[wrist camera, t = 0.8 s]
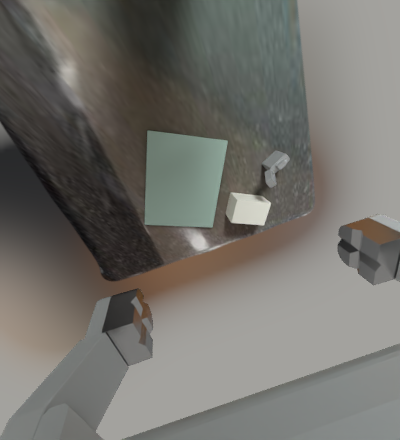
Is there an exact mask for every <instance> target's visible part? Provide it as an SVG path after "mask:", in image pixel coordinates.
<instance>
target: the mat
mask: <svg viewBox="0 0 400 440" xmlns="http://www.w3.org/2000/svg"><path fill="white" fill-rule="evenodd" d="M227 143H228V141H227V140H219V139H212V138H204V137H196V136H188V135H181V134H173V133H165V132H158V131H150V130H148V131H147V162H146V193H145V224H144V225H163V226H188V227H213V222H214V216H215V210H216V205H217V199H218V194H219V188H220V182H221V177H222V171H223V166H224V160H225V154H226V149H227Z"/></svg>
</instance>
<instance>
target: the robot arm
mask: <svg viewBox="0 0 400 440" xmlns="http://www.w3.org/2000/svg"><path fill="white" fill-rule="evenodd" d="M338 235H339V237H340V238H341V240H340V242H339V243H338V254H339V256H340V258H341V259H342V261H343V262H344V263H345V264H347V265H348V266H349V267H353V268H356V269H357V270H358V274H359V275H361V276H362V277H363V278H364V279H366V280H367V281H368V282H370V283H371V284H372V285H376V284H380V283H383V282H386V281H390V280H393V279H396V280H397V281H399V282H400V222H398V221H396V220H393V219H391V218H388V217H386V216H384V215H380V214H376V215H373V216H370V217H367V218H365V219H362V220H359V221H356V222H353V223H349V224H346V225H343V226H341V227H340V229H339V233H338ZM143 299H144V295H143V294H142V292H141V290H140V289H135V290H131V291H127V292H124V293H120V294H117V295H113V296H110V297H107V298H103V299H100V300H99V301H98V302H97V303H96V306H95V309H94V312H93V315H92V318H91V321H90V324H89V327H88V330H87V333H86V336H85V339H83V340H80V341H79V342H78V343H77V344H76V346H75V347H74V348H73V349H72V350H71V351H70V352H69V353H68V354H67V356H66V357H65V358H64V359H63V360H62V361H61V362H60V363H59V364H58V366H57V367H56V368H55V369H54V370H53V371H52V372H51V373H50V375H49V376H48V377H47V378H46V379H45V380H44V381H43V382H42V383H41V385H40V386H39V387H38V388H37V389H36V390H35V391H34V392H33V393H32V395H31V396H30V397H29V398H28V399H27V400H26V401H25V402H24V404H23V405H22V406H21V407H20V408H19V409H18V410H17V411H16V413H15V414H14V415H13V416H12V417H11V418H10V419H9V421H8V423H7V425H6V427H5V429H4V431H3V433H2V435H1V437H0V440H103V439H102V438H101V437H100V436H99V435H98V434H97V433H96V432H95V431H96V429H97V427H98V425H99V424H100V422H101V420H102V418H103V416H104V414H105V412H106V410H107V408H108V406H109V404H110V402H111V400H112V399H113V397H114V395H115V393H116V391H117V389H118V387H119V385H120V383H121V381H122V379H123V377H124V376H125V374H126V372H127V370H128V366H130V365H133V364H136V363H139V362H141V361H144V360H147V359H150V358H152V344H153V343H152V342H153V340H152V338H151V336H150V333H151V331H152V330H153V320H152V314H151V311H150V308H149V306H148V304H147V303H145V302H143ZM122 440H400V344H397V345H394V346H391V347H388V348H385V349H383V350H380V351H377V352H374V353H371V354H368V355H365V356H362V357H359V358H357V359H354V360H351V361H348V362H345V363H342V364H339V365H336V366H333V367H330V368H328V369H325V370H322V371H319V372H316V373H313V374H310V375H307V376H304V377H301V378H299V379H296V380H293V381H290V382H287V383H284V384H281V385H278V386H275V387H273V388H270V389H267V390H264V391H261V392H258V393H255V394H252V395H249V396H247V397H244V398H241V399H238V400H235V401H232V402H230V403H227V404H224V405H221V406H218V407H215V408H212V409H209V410H206V411H203V412H201V413H197V414H195V415H192V416H189V417H186V418H183V419H180V420H177V421H174V422H171V423H168V424H166V425H163V426H160V427H157V428H154V429H151V430H148V431H146V432H142V433H139V434H137V435H134V436H131V437H128V438H125V439H122Z"/></svg>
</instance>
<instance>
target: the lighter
mask: <svg viewBox="0 0 400 440" xmlns="http://www.w3.org/2000/svg"><path fill="white" fill-rule="evenodd" d="M289 160H290V158H289V157H288V156H287V154H285V153H282V152H279V151H274V152H273V153H272V154H271V155H270V156H269V157H268V158H267V159H266V160H265V161H264V162H263V163H262V165H263V166H264V167H265V169H267V171H266V172H265V179H266V184H267V185H268V186H269V187H270V188H272V187H273V186H275V185H277V184H276V178H275V173H276V172H277V171H278V170H279V169H280V170H281V169H282V168H283V167H284V166H285V165H286V164H287V162H288V161H289Z"/></svg>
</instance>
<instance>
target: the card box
mask: <svg viewBox="0 0 400 440" xmlns="http://www.w3.org/2000/svg"><path fill="white" fill-rule="evenodd" d="M270 205H271V203H270V202H269V201H268V200H266V199H265V198H264V197H263V196H259V195H249V194H240V193H231V192H230V197H229V201H228V205H227V210H226V215H227V217H228V218H229V220H230V221H231V223H239V224H252V225H264V224H265V221H266V218H267V214H268V211H269V208H270Z"/></svg>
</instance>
